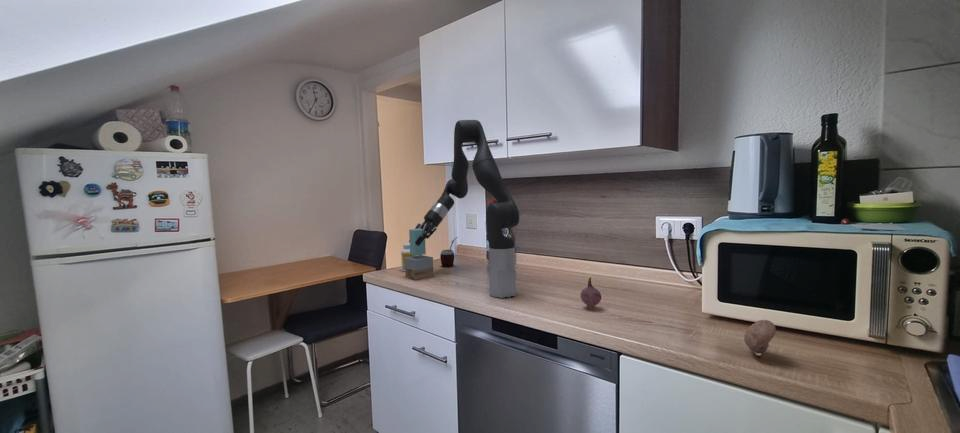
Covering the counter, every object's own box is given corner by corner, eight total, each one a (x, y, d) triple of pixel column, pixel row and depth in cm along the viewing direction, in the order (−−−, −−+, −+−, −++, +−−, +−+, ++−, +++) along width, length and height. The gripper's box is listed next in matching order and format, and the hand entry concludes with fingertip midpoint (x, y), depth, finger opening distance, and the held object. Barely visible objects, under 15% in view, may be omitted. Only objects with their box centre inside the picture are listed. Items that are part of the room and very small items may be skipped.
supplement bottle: (417, 271, 172) (416, 244, 171) (403, 272, 170) (402, 245, 169) (414, 268, 178) (413, 242, 177) (400, 269, 176) (399, 243, 175)
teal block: (425, 254, 160) (424, 229, 159) (415, 255, 156) (414, 230, 156) (420, 252, 163) (419, 228, 163) (410, 254, 160) (409, 229, 160)
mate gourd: (438, 265, 184) (437, 236, 182) (453, 264, 187) (452, 235, 186) (443, 268, 177) (442, 238, 176) (458, 266, 180) (457, 236, 179)
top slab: (433, 267, 160) (432, 257, 160) (416, 270, 154) (415, 260, 154) (421, 264, 167) (420, 254, 166) (404, 267, 160) (404, 257, 160)
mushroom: (768, 366, 76) (770, 329, 75) (735, 355, 81) (736, 320, 80) (781, 356, 80) (783, 320, 79) (748, 346, 85) (749, 313, 84)
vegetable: (576, 306, 116) (576, 275, 115) (592, 304, 118) (592, 273, 118) (588, 312, 111) (588, 280, 110) (605, 309, 113) (605, 278, 112)
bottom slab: (433, 277, 160) (433, 267, 160) (415, 281, 154) (415, 270, 154) (423, 274, 167) (423, 264, 166) (405, 277, 161) (405, 267, 161)
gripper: (423, 208, 169) (400, 236, 162) (439, 209, 157) (415, 240, 151) (433, 219, 172) (411, 247, 166) (450, 220, 161) (427, 251, 155)
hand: (413, 243), depth 158 cm, fingers open, 5 cm apart
